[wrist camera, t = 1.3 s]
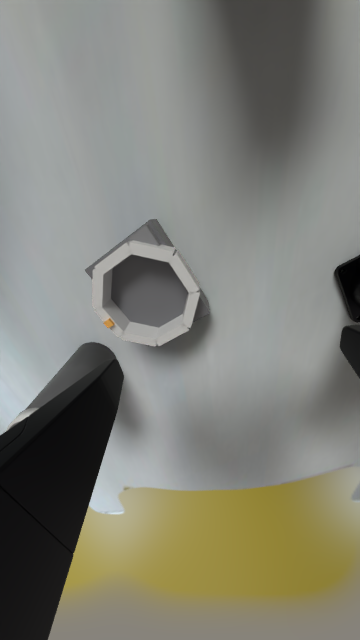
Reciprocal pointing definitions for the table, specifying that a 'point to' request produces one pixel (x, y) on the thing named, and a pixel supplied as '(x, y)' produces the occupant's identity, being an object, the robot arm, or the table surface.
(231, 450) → the table surface
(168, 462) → the table surface
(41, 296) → the table surface
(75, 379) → the flashlight
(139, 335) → the octagonal tube holder
